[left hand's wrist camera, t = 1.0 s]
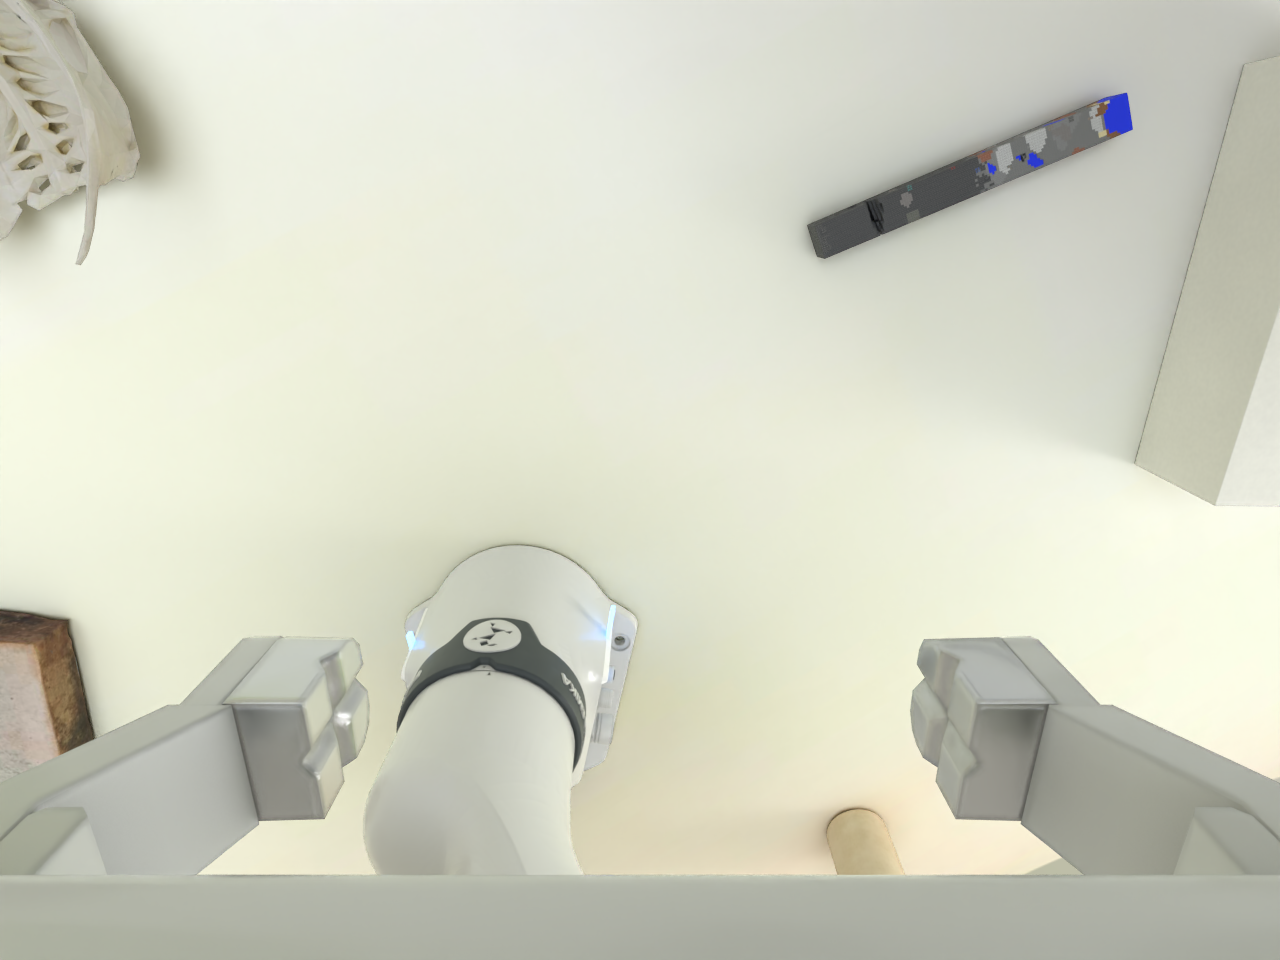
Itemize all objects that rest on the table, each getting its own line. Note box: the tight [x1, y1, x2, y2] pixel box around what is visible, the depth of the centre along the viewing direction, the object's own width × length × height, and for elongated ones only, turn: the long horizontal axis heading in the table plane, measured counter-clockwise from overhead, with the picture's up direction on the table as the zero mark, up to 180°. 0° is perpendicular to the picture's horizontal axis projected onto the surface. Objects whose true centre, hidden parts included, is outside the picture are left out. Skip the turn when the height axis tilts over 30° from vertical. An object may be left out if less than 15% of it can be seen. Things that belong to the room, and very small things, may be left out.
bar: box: [1135, 56, 1280, 507], centre depth 46 cm, size 26×5×8 cm, turn 179°
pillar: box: [807, 93, 1133, 259], centre depth 46 cm, size 2×2×20 cm
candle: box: [827, 809, 905, 875], centre depth 62 cm, size 6×6×10 cm
